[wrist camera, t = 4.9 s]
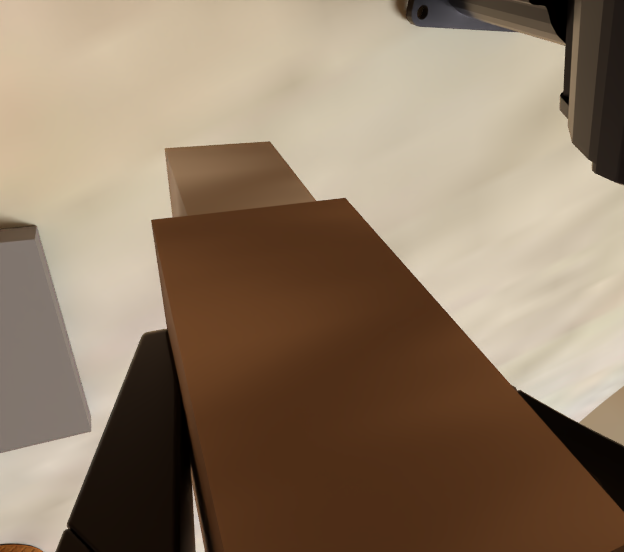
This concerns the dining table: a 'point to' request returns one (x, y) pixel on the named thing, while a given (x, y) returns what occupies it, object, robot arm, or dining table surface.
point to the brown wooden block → (343, 385)
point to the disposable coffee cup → (18, 548)
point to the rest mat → (34, 350)
